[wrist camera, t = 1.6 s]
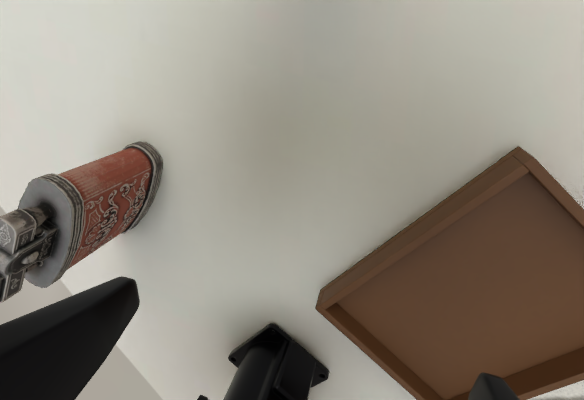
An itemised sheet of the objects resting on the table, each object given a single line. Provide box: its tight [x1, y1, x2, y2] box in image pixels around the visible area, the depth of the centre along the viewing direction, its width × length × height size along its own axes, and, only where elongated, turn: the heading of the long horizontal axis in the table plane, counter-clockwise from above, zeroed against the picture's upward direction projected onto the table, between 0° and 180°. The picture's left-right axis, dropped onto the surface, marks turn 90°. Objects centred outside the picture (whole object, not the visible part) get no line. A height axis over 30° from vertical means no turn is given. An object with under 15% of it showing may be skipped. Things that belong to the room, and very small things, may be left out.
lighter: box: [0, 142, 163, 303], centre depth 20 cm, size 8×3×10 cm, turn 147°
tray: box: [315, 147, 584, 400], centre depth 20 cm, size 15×13×2 cm
